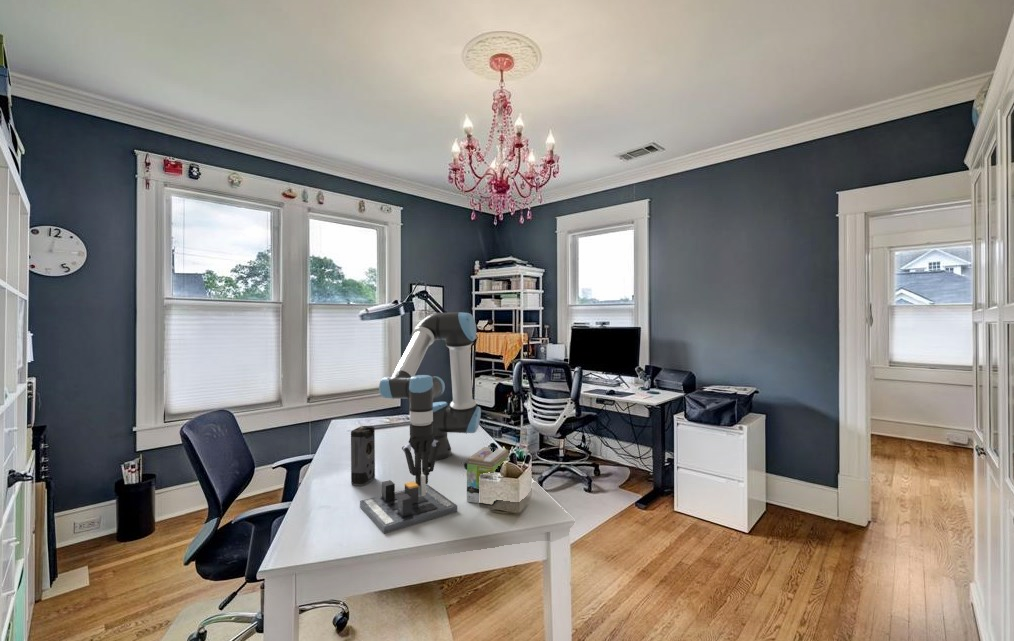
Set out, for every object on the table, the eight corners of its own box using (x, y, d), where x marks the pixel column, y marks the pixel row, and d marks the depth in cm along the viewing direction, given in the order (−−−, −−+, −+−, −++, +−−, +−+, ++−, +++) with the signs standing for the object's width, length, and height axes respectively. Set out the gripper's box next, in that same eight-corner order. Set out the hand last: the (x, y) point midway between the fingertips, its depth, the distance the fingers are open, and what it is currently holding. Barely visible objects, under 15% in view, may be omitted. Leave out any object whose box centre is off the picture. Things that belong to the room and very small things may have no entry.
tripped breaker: (413, 498, 146) (413, 481, 146) (418, 502, 143) (418, 484, 143) (404, 500, 144) (404, 483, 144) (409, 504, 141) (409, 487, 141)
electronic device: (364, 486, 162) (363, 432, 162) (349, 485, 163) (348, 431, 163) (376, 477, 171) (376, 425, 171) (362, 476, 172) (362, 425, 172)
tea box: (493, 506, 145) (493, 461, 145) (465, 502, 148) (465, 458, 148) (509, 489, 159) (509, 448, 159) (483, 485, 162) (483, 445, 162)
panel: (427, 489, 159) (427, 469, 159) (457, 511, 141) (457, 488, 141) (360, 506, 145) (359, 484, 145) (383, 533, 127) (383, 508, 127)
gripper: (434, 418, 152) (434, 486, 152) (398, 423, 144) (398, 495, 145) (444, 422, 146) (444, 493, 146) (407, 428, 138) (407, 503, 138)
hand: (421, 494), depth 145 cm, fingers closed
